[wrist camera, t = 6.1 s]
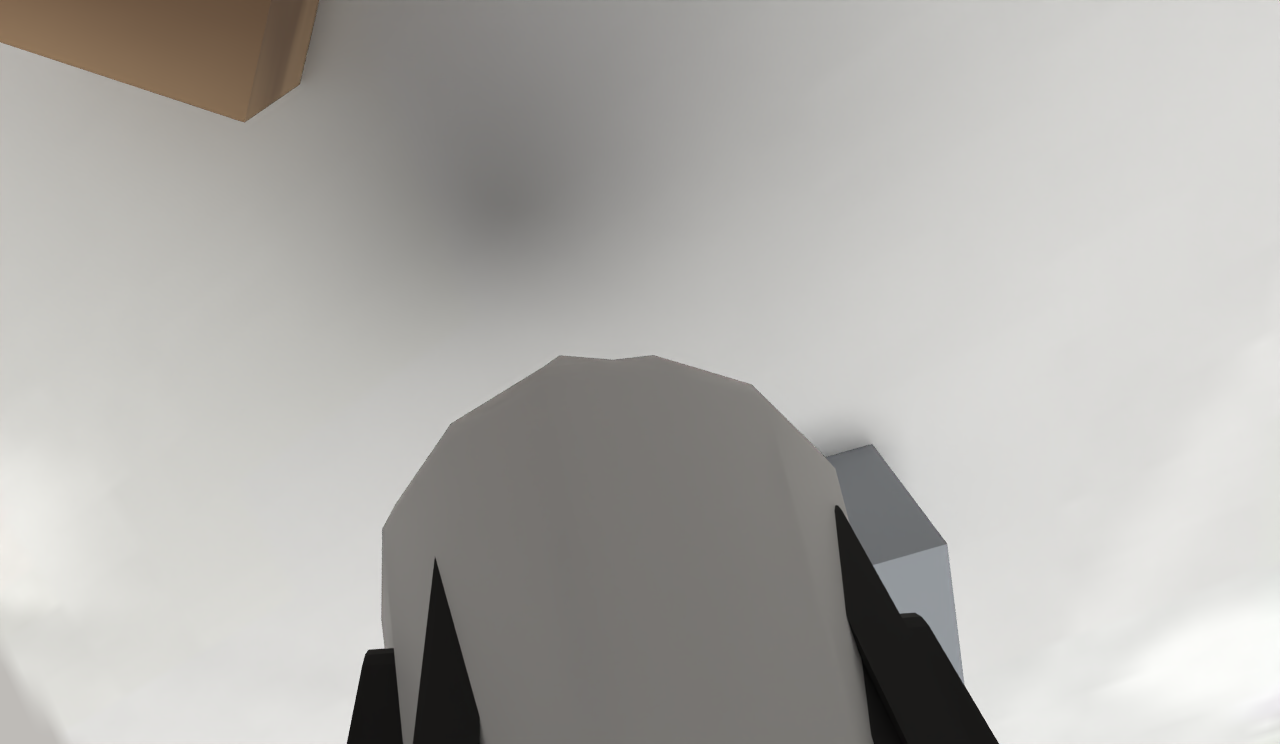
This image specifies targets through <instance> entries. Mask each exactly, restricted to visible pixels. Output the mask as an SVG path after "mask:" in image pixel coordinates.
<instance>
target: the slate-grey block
mask: <svg viewBox="0 0 1280 744" xmlns="http://www.w3.org/2000/svg"><path fill="white" fill-rule="evenodd" d="M825 458H826V459H827V460H828V461H829V462H830V463H831V464H832V466H833V467H834V468H835V469H836V473H837V477H838V481H839V485H840V488H841V492H842V496H843V500H844V504H845V508H846V512H847V516H848V519H849V523H850V525H851V527H852V529H853V531H854V533H855V534H856V536H857V538H858V540H859V541H860V543H861V545H862V547H863V549H864V550H865V552H866V554H867V556H868V558H869V559H870V561H871V563H872V565H873V567H874V568H875V570H876V572H877V574H878V575H879V577H880V579H881V581H882V583H883V584H884V586H885V588H886V590H887V592H888V593H889V595H890V597H891V599H892V601H893V602H894V604H895V606H896V608H897V610H898V611H899V613H900V614H901V613H916V614H918V615H920V616H922V617H923V619H924V620H925V621H926V622H927V624H928V625H929V626H930V628H931V630H932V631H933V633H934V635H935V636H936V638H937V640H938V642H939V643H940V645H941V647H942V648H943V650H944V652H945V653H946V655H947V657H948V658H949V660H950V662H951V664H952V665H953V667H954V669H955V670H956V672H957V674H958V675H959V677H960V679H961V681H962V682H963V684H964V678H963V669H962V661H961V653H960V645H959V637H958V629H957V620H956V612H955V604H954V596H953V588H952V580H951V571H950V563H949V555H948V547H947V543H946V542H945V540H944V539H943V538H942V536H941V535H940V534H939V532H938V531H937V530H936V528H935V527H934V526H933V524H932V523H931V522H930V520H929V519H928V518H927V516H926V515H925V514H924V512H923V511H922V510H921V508H920V507H919V506H918V504H917V503H916V502H915V500H914V499H913V498H912V496H911V495H910V494H909V492H908V491H907V490H906V488H905V487H904V486H903V484H902V483H901V482H900V480H899V479H898V478H897V476H896V475H895V474H894V472H893V471H892V470H891V469H890V467H889V466H888V465H887V463H886V462H885V461H884V459H883V458H882V457H881V455H880V454H879V453H878V451H877V450H876V449H875V447H874V446H873V445H872V444H871V445H868V446H864V447H860V448H857V449H853V450H850V451H846V452H843V453H839V454H836V455H832V456H829V457H825Z"/></svg>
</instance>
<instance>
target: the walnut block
mask: <svg viewBox="0 0 1280 744" xmlns="http://www.w3.org/2000/svg"><path fill="white" fill-rule="evenodd" d="M318 4H319V0H0V42H1V43H4V44H8V45H11V46H14V47H17V48H20V49H23V50H26V51H29V52H32V53H35V54H38V55H41V56H44V57H47V58H50V59H53V60H56V61H59V62H62V63H65V64H68V65H71V66H74V67H77V68H80V69H83V70H87V71H90V72H93V73H96V74H99V75H102V76H105V77H108V78H111V79H114V80H117V81H120V82H123V83H126V84H129V85H132V86H135V87H138V88H141V89H144V90H147V91H150V92H153V93H156V94H159V95H163V96H166V97H169V98H172V99H175V100H178V101H181V102H184V103H187V104H190V105H193V106H196V107H199V108H202V109H205V110H208V111H211V112H214V113H217V114H220V115H223V116H226V117H229V118H232V119H235V120H238V121H242V122H246V121H247V120H249V119H250V118H252V117H253V116H255V115H256V114H257V113H259V112H260V111H262V110H263V109H265V108H266V107H268V106H269V105H271V104H272V103H273V102H275V101H276V100H278V99H279V98H281V97H282V96H284V95H285V94H287V93H288V92H289V91H291V90H292V89H294V88H295V87H297V86H298V85H300V81H301V76H302V72H303V68H304V64H305V59H306V55H307V51H308V47H309V42H310V38H311V34H312V30H313V25H314V21H315V17H316V12H317V8H318Z"/></svg>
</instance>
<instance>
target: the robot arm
mask: <svg viewBox="0 0 1280 744" xmlns="http://www.w3.org/2000/svg"><path fill="white" fill-rule="evenodd" d="M834 511H835V520H836V529H837V538H838V547H839V556H840V565H841V573H842V582H843V591H844V600H845V609H846V616H847V619H848V622H849V625H850V628H851V631H852V634H853V637H854V640H855V643H856V646H857V649H858V652H859V654H860V656H861V659H862V666H863V674H864V682H865V690H866V698H867V706H868V714H869V722H870V730H871V736H872V739H873V742H874V744H999V743H998V741H997V740H996V738H995V736H994V735H993V733H992V731H991V730H990V728H989V726H988V725H987V723H986V721H985V719H984V718H983V716H982V714H981V713H980V711H979V709H978V708H977V706H976V704H975V703H974V701H973V699H972V697H971V696H970V694H969V692H968V691H967V689H966V687H965V686H964V684H963V682H962V681H961V679H960V677H959V675H958V674H957V672H956V670H955V669H954V667H953V665H952V664H951V662H950V660H949V658H948V657H947V655H946V653H945V652H944V650H943V648H942V647H941V645H940V643H939V642H938V640H937V638H936V636H935V635H934V633H933V631H932V630H931V628H930V626H929V625H928V624H927V622H926V621H925V620H924V619H923V617H922V616H920V615H918V614H916V613H901V614H900V613H899V611H898V610H897V608H896V606H895V604H894V602H893V601H892V599H891V597H890V595H889V593H888V592H887V590H886V588H885V586H884V584H883V583H882V581H881V579H880V577H879V575H878V574H877V572H876V570H875V568H874V567H873V565H872V563H871V561H870V559H869V558H868V556H867V554H866V552H865V550H864V549H863V547H862V545H861V543H860V541H859V540H858V538H857V536H856V534H855V533H854V531H853V529H852V527H851V525H850V524H849V522H848V520H847V518H846V516H845V515H844V513H843V511H842V510H841V508H840V507H839V506H838V505H835V510H834ZM347 744H403V738H402V728H401V717H400V707H399V697H398V686H397V676H396V665H395V655H394V648H388V649H373V650H368V651H367V653H366V654H365V658H364V661H363V665H362V670H361V675H360V680H359V685H358V690H357V695H356V700H355V705H354V710H353V715H352V720H351V725H350V731H349V736H348V741H347ZM413 744H480V716H479V712H478V709H477V705H476V702H475V698H474V694H473V691H472V687H471V684H470V680H469V676H468V673H467V669H466V666H465V662H464V658H463V655H462V651H461V648H460V644H459V640H458V637H457V633H456V630H455V626H454V622H453V619H452V615H451V612H450V608H449V604H448V601H447V597H446V594H445V590H444V586H443V583H442V579H441V576H440V572H439V568H438V565H437V561H436V558H435V559H434V568H433V576H432V584H431V593H430V601H429V610H428V618H427V627H426V635H425V644H424V652H423V661H422V669H421V677H420V686H419V694H418V703H417V711H416V720H415V728H414V737H413Z"/></svg>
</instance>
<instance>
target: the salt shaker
mask: <svg viewBox="0 0 1280 744" xmlns="http://www.w3.org/2000/svg"><path fill="white" fill-rule="evenodd" d="M835 505H838V506H839V507H840V508H841V510H842V511H843V513H844V515H845V516H846V518H847V520H848V522H849V519H848V516H847V512H846V508H845V504H844V500H843V496H842V492H841V488H840V485H839V481H838V477H837V473H836V469H835V468H834V467H833V466H832V464H831V463H830V462H829V461H828V460H827V459H826V458H825V457H824V456H823V455H822V454H821V453H820V451H819V450H818V449H817V448H816V447H815V446H814V445H813V444H812V443H811V442H810V441H809V440H808V439H807V438H806V437H805V436H804V435H803V434H801V433H800V432H799V431H798V430H797V429H796V428H795V427H794V426H793V425H792V424H791V423H790V422H789V421H788V420H787V419H786V418H785V417H784V416H783V415H782V414H781V413H780V412H779V411H778V410H777V409H776V408H775V407H774V406H773V405H772V404H771V403H770V402H769V401H768V400H767V399H766V398H765V397H764V396H763V395H762V394H761V393H760V392H759V391H758V390H757V389H756V388H755V387H754V386H753V385H751V384H748V383H745V382H741V381H738V380H735V379H731V378H728V377H725V376H721V375H718V374H715V373H711V372H708V371H705V370H701V369H698V368H695V367H691V366H688V365H685V364H681V363H678V362H674V361H671V360H668V359H664V358H661V357H658V356H654V355H652V356H643V357H634V358H625V359H616V360H608V359H596V358H584V357H572V356H558V357H557V358H555V359H554V360H552V361H551V362H550V363H548V364H547V365H545V366H544V367H542V368H541V369H539V370H538V371H536V372H534V373H533V374H531V375H529V376H528V377H526V378H525V379H523V380H521V381H520V382H518V383H516V384H515V385H513V386H512V387H510V388H508V389H507V390H505V391H503V392H502V393H500V394H498V395H497V396H495V397H494V398H492V399H490V400H489V401H487V402H485V403H484V404H482V405H481V406H479V407H477V408H476V409H474V410H472V411H471V412H469V413H467V414H466V415H464V416H463V417H461V418H459V419H458V420H456V421H454V422H453V423H451V424H450V426H449V427H448V429H447V430H446V432H445V433H444V435H443V436H442V437H441V439H440V440H439V442H438V443H437V445H436V446H435V448H434V449H433V451H432V452H431V453H430V455H429V456H428V458H427V459H426V461H425V462H424V464H423V465H422V467H421V468H420V469H419V471H418V472H417V474H416V475H415V477H414V478H413V480H412V481H411V483H410V484H409V485H408V487H407V488H406V490H405V491H404V493H403V494H402V496H401V497H400V499H399V500H398V501H397V503H396V504H395V506H394V508H393V510H392V512H391V514H390V516H389V517H388V519H387V521H386V523H385V525H384V527H383V529H382V608H381V621H382V629H383V637H384V646H385V649H388V648H394V655H395V665H396V676H397V686H398V697H399V707H400V717H401V728H402V738H403V744H413V737H414V728H415V720H416V711H417V703H418V694H419V686H420V677H421V669H422V661H423V652H424V644H425V635H426V627H427V618H428V610H429V601H430V593H431V584H432V576H433V568H434V559H435V558H436V561H437V565H438V568H439V572H440V576H441V579H442V583H443V586H444V590H445V594H446V597H447V601H448V604H449V608H450V612H451V615H452V619H453V622H454V626H455V630H456V633H457V637H458V640H459V644H460V648H461V651H462V655H463V658H464V662H465V666H466V669H467V673H468V676H469V680H470V684H471V687H472V691H473V694H474V698H475V702H476V705H477V709H478V712H479V716H480V744H874V742H873V739H872V736H871V730H870V722H869V714H868V706H867V698H866V690H865V682H864V674H863V666H862V659H861V656H860V654H859V652H858V649H857V646H856V643H855V640H854V637H853V634H852V631H851V628H850V625H849V622H848V619H847V616H846V609H845V600H844V591H843V582H842V573H841V565H840V556H839V547H838V538H837V529H836V520H835V511H834V510H835ZM849 524H850V523H849Z"/></svg>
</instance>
